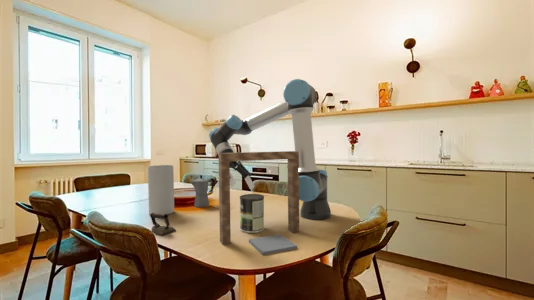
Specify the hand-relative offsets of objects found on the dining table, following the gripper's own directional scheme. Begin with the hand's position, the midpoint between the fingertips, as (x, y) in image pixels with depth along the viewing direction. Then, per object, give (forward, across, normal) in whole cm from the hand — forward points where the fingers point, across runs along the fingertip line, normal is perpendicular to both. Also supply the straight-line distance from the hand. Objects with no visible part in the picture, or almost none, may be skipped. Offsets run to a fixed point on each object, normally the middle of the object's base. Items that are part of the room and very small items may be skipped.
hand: (243, 186), depth 124 cm
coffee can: (+19, +1, -5) cm, 20 cm away
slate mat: (+33, +11, +6) cm, 35 cm away
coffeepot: (-20, -16, -40) cm, 47 cm away
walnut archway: (+26, +6, 0) cm, 27 cm away
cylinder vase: (-19, +8, -47) cm, 52 cm away
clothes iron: (+3, +25, -31) cm, 40 cm away
